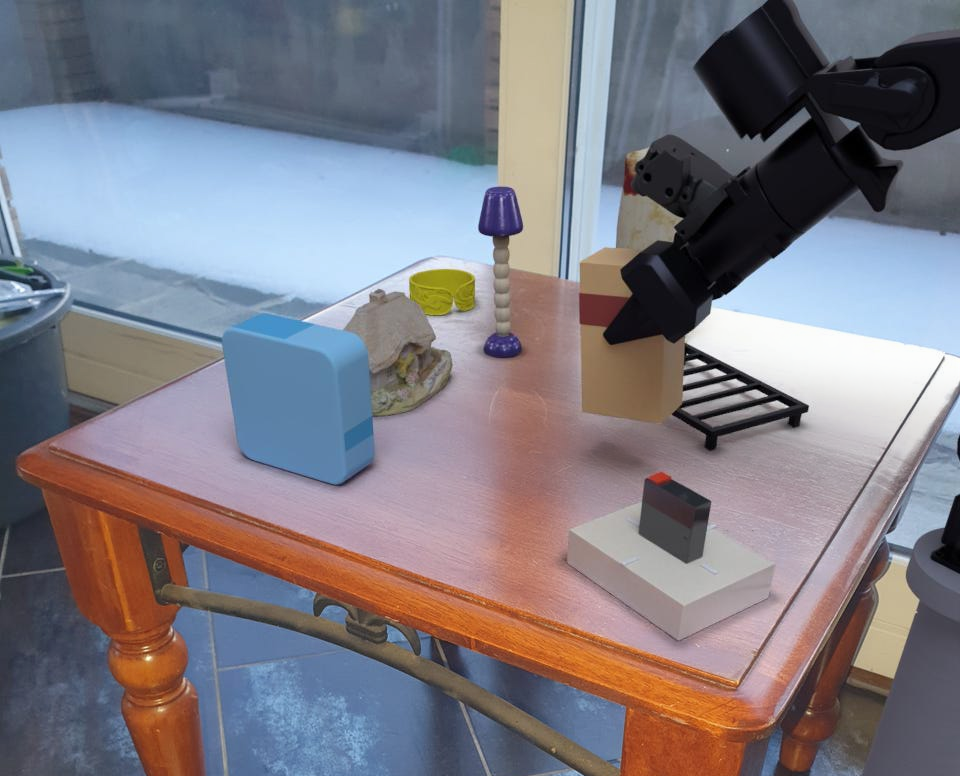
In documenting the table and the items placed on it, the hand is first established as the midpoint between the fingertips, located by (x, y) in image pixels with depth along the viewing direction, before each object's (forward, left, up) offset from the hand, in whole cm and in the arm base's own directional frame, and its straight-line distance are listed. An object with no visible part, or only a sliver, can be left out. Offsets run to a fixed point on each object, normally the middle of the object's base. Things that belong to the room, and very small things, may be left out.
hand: (618, 329), depth 79 cm
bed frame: (+7, -17, -13) cm, 23 cm away
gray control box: (-15, +7, -10) cm, 19 cm away
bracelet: (+45, -13, -13) cm, 49 cm away
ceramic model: (+27, +6, -13) cm, 31 cm away
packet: (-2, -1, -6) cm, 7 cm away
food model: (+22, -26, -13) cm, 36 cm away
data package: (+17, +20, -13) cm, 30 cm away
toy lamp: (+29, -10, -13) cm, 33 cm away
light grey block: (-15, +7, -13) cm, 21 cm away
